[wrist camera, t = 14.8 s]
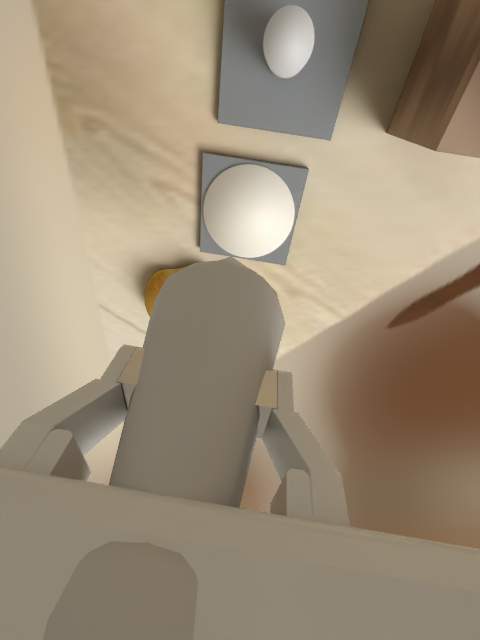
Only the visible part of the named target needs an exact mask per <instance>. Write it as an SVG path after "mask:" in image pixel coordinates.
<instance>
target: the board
mask: <svg viewBox="0 0 480 640" xmlns="http://www.w3.org/2000/svg"><path fill="white" fill-rule="evenodd" d="M368 2H369V0H225V5H224V23H223V41H222V58H221V76H220V94H219V112H218V123H221V124H228V125H234V126H241V127H247V128H254V129H260V130H266V131H273V132H279V133H286V134H292V135H299V136H305V137H312V138H318V139H325V140H331V137H332V133H333V130H334V126H335V122H336V119H337V115H338V111H339V108H340V104H341V101H342V97H343V93H344V90H345V86H346V82H347V79H348V75H349V71H350V68H351V64H352V60H353V57H354V53H355V49H356V46H357V42H358V38H359V35H360V31H361V27H362V24H363V20H364V17H365V13H366V9H367V6H368Z"/></svg>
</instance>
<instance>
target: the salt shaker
mask: <svg viewBox="0 0 480 640" xmlns="http://www.w3.org/2000/svg"><path fill="white" fill-rule="evenodd" d="M284 326H285V321H284V317H283V313H282V310H281V307H280V303H279V300H278V296H277V293H276V292H275V290H274V289H273V288H272V287H271V286H270V285H269V284H268V283H267V281H266V280H265V279H264V278H263V277H262V276H260V275H258V274H257V273H256V272H254V271H253V270H251V269H249V268H248V267H246V266H244V265H243V264H241V263H240V262H238V261H237V260H235V259H233V258H232V257H230V258H226V259H222V260H219V261H210V262H195V263H193V264H191V265H189V266H188V267H186V268H184V269H182V270H180V271H178V272H176V273H174V274H172V275H171V276H169V277H168V278H167V279H166V280H165V282H164V284H163V286H162V288H161V290H160V291H159V293H158V295H157V297H156V299H155V301H154V305H153V309H152V313H151V317H150V321H149V325H148V329H147V333H146V337H145V341H144V345H143V348H145V351H144V356H143V360H142V364H141V369H140V373H139V378H138V381H137V385H136V387H135V389H134V390H133V392H132V394H131V398H130V402H129V406H128V410H127V414H126V418H125V422H124V426H123V430H122V434H121V438H120V442H119V446H118V450H117V454H116V458H115V462H114V466H113V471H112V474H111V478H110V482H109V485H110V486H116V487H122V488H128V489H133V490H139V491H145V492H151V493H155V494H159V495H162V496H173V497H180V498H186V499H191V500H197V501H203V502H209V503H215V504H220V505H226V506H232V507H238V508H239V507H240V503H241V499H242V495H243V491H244V486H245V482H246V478H247V474H248V470H249V466H250V462H251V458H252V453H253V450H254V445H255V441H256V437H257V433H258V430H257V425H258V421H259V417H260V415H259V413H258V410H257V408H256V406H255V403H256V400H257V397H258V393H259V390H260V387H261V384H262V381H263V378H264V375H265V372H266V370H267V369H273V367H274V363H275V359H276V355H277V351H278V348H279V344H280V340H281V337H282V333H283V329H284ZM197 589H198V582H197V577H196V572H195V571H194V570H193V569H192V567H191V566H190V565H189V563H188V562H187V561H186V559H185V558H184V557H183V556H182V554H180V553H177V552H174V551H171V550H168V549H165V548H161V547H158V546H155V545H153V544H151V543H149V542H144V543H134V542H114V541H110V542H108V543H106V544H104V545H102V546H100V547H98V548H96V549H94V550H92V551H90V552H88V553H87V554H86V555H85V556H84V557H83V559H82V560H81V561H80V562H79V563H78V565H77V566H76V568H75V570H74V572H73V574H72V576H71V578H70V579H69V581H68V583H67V585H66V587H65V589H64V591H63V592H62V594H61V596H60V598H59V600H58V602H57V603H56V605H55V607H54V609H53V611H52V613H51V615H50V616H49V618H48V621H47V625H46V629H45V633H44V636H43V640H193V635H194V624H195V612H196V600H197Z"/></svg>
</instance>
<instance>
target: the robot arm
mask: <svg viewBox="0 0 480 640" xmlns="http://www.w3.org/2000/svg"><path fill="white" fill-rule="evenodd" d="M144 351H145V348H141V347H135V346H130V345H123V346H122V347H121V348H120V349H119V351H118V352H117V354H116V355H115V357H114V358H113V360H112V362H111V363H110V365H109V367H108V368H107V369H106V371H105V373H104V374H103V376H102V377H101V379H100V380H99V379H95V380H93V381H91V382H90V383H88V384H86V385H84V386H83V387H81V388H79V389H78V390H76V391H74V392H72V393H71V394H69V395H67V396H66V397H64V398H62V399H60V400H58V401H57V402H55V403H53V404H52V405H50V406H48V407H46V408H45V409H43V410H41V411H39V412H38V413H36V414H34V415H32V416H31V417H29V418H27V419H25V420H24V421H22V423H21V424H20V425H19V426H18V428H17V429H16V430H15V431H14V433H13V434H12V435H11V436H10V438H9V439H8V440H7V442H6V443H5V444H4V445H3V446H2V448H1V449H0V640H43V636H44V633H45V629H46V625H47V621H48V618H49V616H50V615H51V613H52V611H53V609H54V607H55V605H56V603H57V602H58V600H59V598H60V596H61V594H62V592H63V591H64V589H65V587H66V585H67V583H68V581H69V579H70V578H71V576H72V574H73V572H74V570H75V568H76V566H77V565H78V563H79V562H80V561H81V560H82V559H83V557H84V556H85V555H86V554H87V553H88V552H90V551H92V550H94V549H96V548H98V547H100V546H102V545H104V544H106V543H108V542H110V541H114V542H134V543H144V542H149V543H151V544H153V545H155V546H158V547H161V548H165V549H168V550H171V551H174V552H177V553H180V554H182V556H183V557H184V558H185V559H186V561H187V562H188V563H189V565H190V566H191V567H192V569H193V570H194V571H195V572H196V577H197V582H198V589H197V600H196V612H195V624H194V635H193V640H480V549H475V548H469V547H463V546H458V545H452V544H446V543H440V542H435V541H429V540H423V539H417V538H412V537H406V536H400V535H394V534H388V533H382V532H377V531H371V530H365V529H359V528H353V527H350V526H349V519H348V513H347V507H346V501H345V494H344V488H343V482H342V476H341V474H340V473H339V472H338V470H337V469H336V467H335V466H334V465H333V463H332V462H331V460H330V459H329V457H328V456H327V454H326V453H325V451H324V450H323V448H322V447H321V446H320V444H319V443H318V441H317V440H316V438H315V437H314V435H313V434H312V432H311V431H310V430H309V428H308V427H307V425H306V424H305V422H304V421H303V420H302V418H301V417H300V415H299V414H298V413H296V412H294V410H293V409H294V407H293V386H292V374H291V372H286V371H279V370H274V369H267V370H266V372H265V375H264V378H263V381H262V384H261V387H260V390H259V393H258V397H257V400H256V403H255V406H256V408H257V410H258V413H259V415H260V417H259V421H258V425H257V430H258V433H257V437H259V438H263V442H264V444H265V446H266V448H267V450H268V453H269V455H270V457H271V459H272V461H273V463H274V466H275V468H276V470H277V472H278V474H279V476H280V479H281V481H282V482H281V484H280V486H279V488H278V490H277V492H276V494H275V495H274V497H273V499H272V501H271V506H270V507H271V508H270V513H267V512H261V511H255V510H249V509H243V508H238V507H232V506H226V505H220V504H215V503H209V502H203V501H197V500H191V499H186V498H180V497H173V496H162V495H159V494H155V493H151V492H145V491H139V490H133V489H128V488H122V487H116V486H110V485H104V484H99V483H93V482H87V479H88V477H89V475H90V473H91V471H90V468H89V466H88V464H87V462H86V460H85V458H84V456H83V455H84V454H86V453H87V452H88V451H89V450H90V449H91V448H93V447H94V446H95V445H96V444H97V443H98V442H100V441H101V440H102V439H103V438H104V437H105V436H106V435H108V434H109V433H110V432H111V431H112V430H114V429H115V428H116V427H117V426H118V425H120V424H121V423H122V422H123V421H124V420H125V418H126V414H127V410H128V406H129V402H130V398H131V394H132V392H133V390H134V389H135V387H136V385H137V381H138V378H139V373H140V369H141V364H142V360H143V356H144Z"/></svg>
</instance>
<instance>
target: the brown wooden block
mask: <svg viewBox="0 0 480 640" xmlns="http://www.w3.org/2000/svg"><path fill="white" fill-rule="evenodd" d="M387 133H388V134H390V135H393V136H396V137H399V138H401V139H404V140H407V141H410V142H412V143H415V144H418V145H420V146H423V147H426V148H429V149H431V150H434V151H438V152H445V153H451V154H458V155H464V156H471V157H477V158H480V0H437V1H436V3H435V6H434V9H433V11H432V14H431V17H430V19H429V22H428V25H427V27H426V30H425V33H424V35H423V38H422V41H421V43H420V46H419V49H418V51H417V54H416V57H415V59H414V62H413V65H412V67H411V70H410V73H409V75H408V78H407V81H406V83H405V86H404V88H403V91H402V94H401V96H400V99H399V102H398V104H397V107H396V110H395V112H394V115H393V118H392V120H391V123H390V126H389V128H388V131H387Z"/></svg>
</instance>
